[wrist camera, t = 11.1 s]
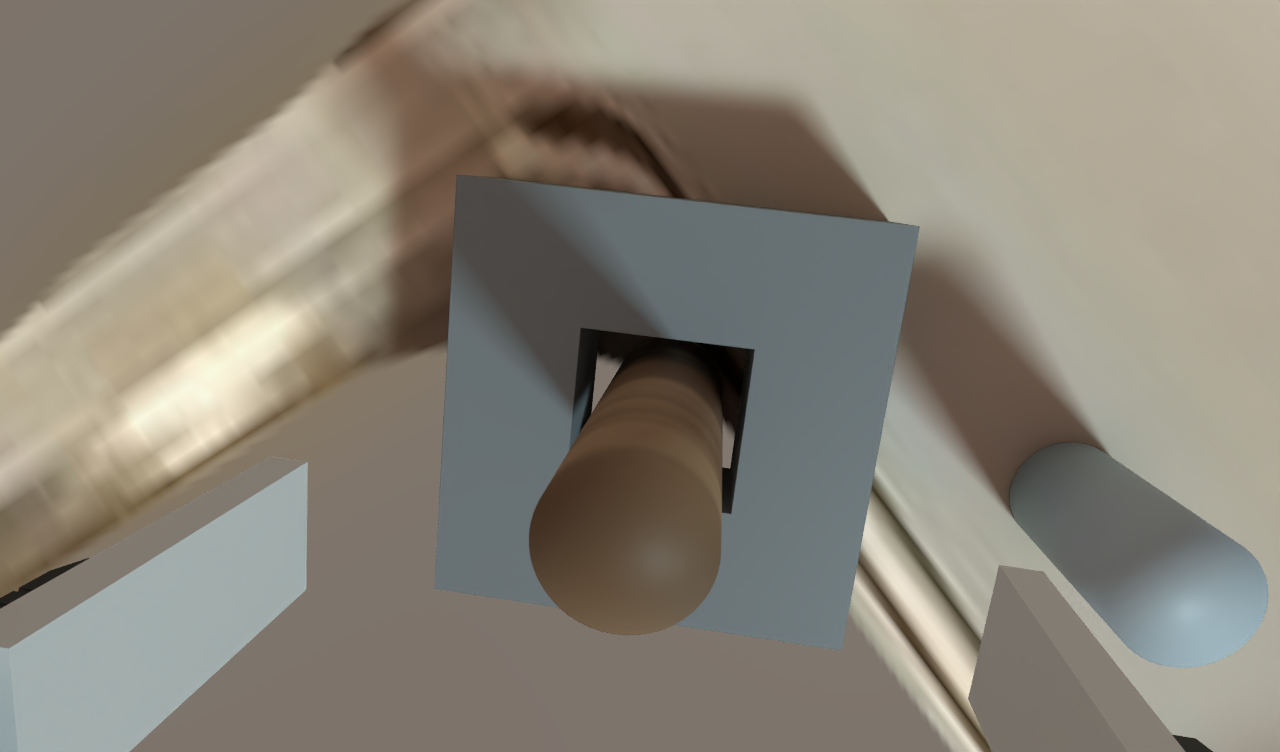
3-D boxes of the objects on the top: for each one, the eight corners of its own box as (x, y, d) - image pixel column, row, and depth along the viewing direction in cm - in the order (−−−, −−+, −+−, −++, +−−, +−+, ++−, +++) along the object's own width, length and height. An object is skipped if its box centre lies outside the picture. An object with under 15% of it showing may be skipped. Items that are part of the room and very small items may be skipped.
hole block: (496, 178, 29) (456, 175, 25) (889, 221, 28) (919, 226, 24) (473, 535, 32) (434, 588, 28) (825, 586, 31) (841, 650, 27)
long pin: (621, 330, 30) (536, 442, 16) (729, 343, 30) (733, 469, 16) (610, 432, 31) (522, 619, 17) (715, 447, 31) (707, 648, 17)
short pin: (1022, 435, 29) (1129, 522, 22) (1136, 450, 29) (1287, 543, 21) (998, 536, 30) (1094, 655, 22) (1109, 552, 30) (1244, 677, 22)
